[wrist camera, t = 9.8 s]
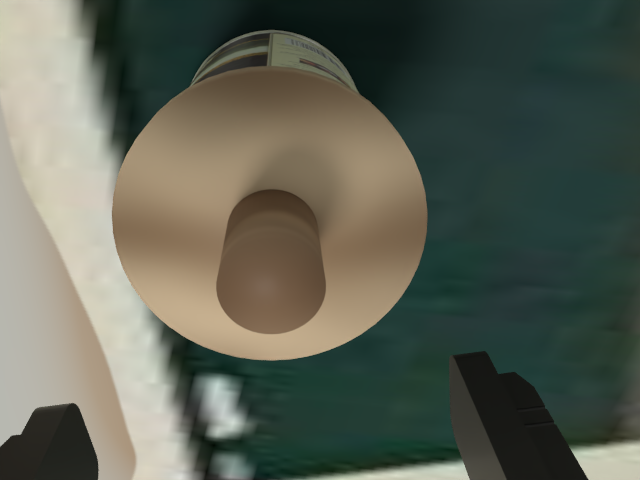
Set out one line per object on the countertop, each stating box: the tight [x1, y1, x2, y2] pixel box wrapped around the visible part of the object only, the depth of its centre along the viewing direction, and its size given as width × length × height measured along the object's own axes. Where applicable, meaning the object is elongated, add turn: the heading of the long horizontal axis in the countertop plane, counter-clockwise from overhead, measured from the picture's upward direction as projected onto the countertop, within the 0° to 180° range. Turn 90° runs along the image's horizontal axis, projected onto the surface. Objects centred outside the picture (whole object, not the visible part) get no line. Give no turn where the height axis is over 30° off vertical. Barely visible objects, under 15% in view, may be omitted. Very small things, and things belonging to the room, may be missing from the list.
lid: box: [112, 66, 427, 360], centre depth 20 cm, size 11×11×5 cm
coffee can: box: [189, 30, 359, 93], centre depth 29 cm, size 10×10×14 cm
